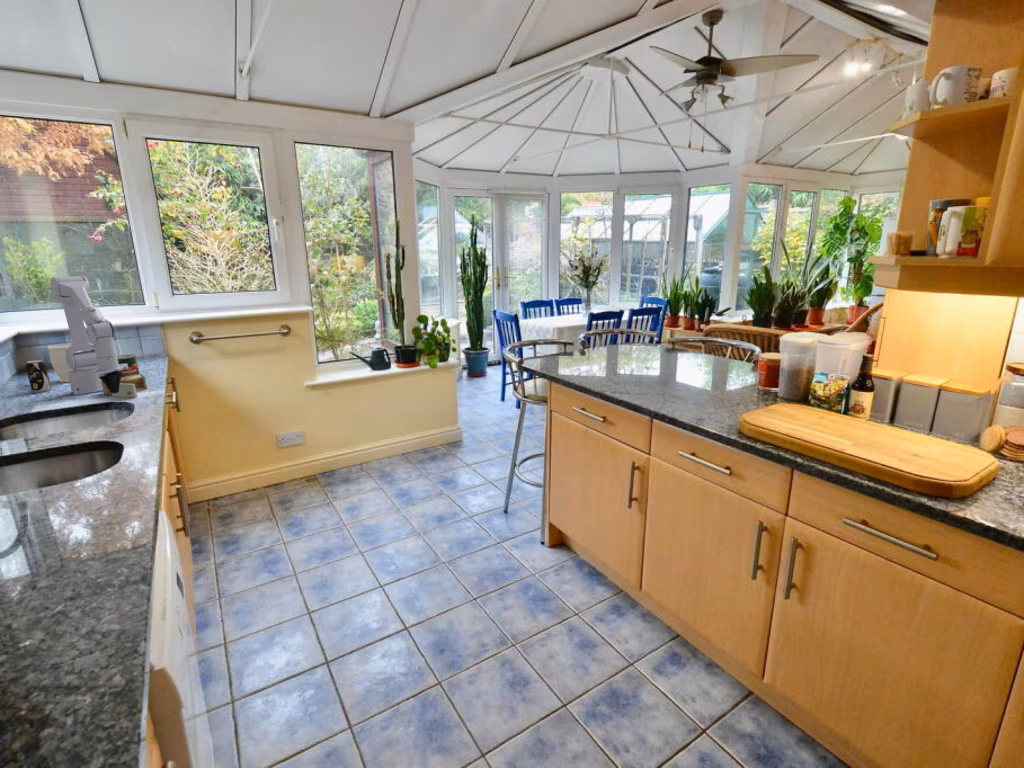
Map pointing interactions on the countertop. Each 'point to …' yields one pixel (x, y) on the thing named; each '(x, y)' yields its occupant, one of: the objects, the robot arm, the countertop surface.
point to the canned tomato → (131, 363)
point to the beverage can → (38, 376)
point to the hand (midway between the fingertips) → (114, 392)
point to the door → (125, 391)
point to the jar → (60, 360)
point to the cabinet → (135, 379)
